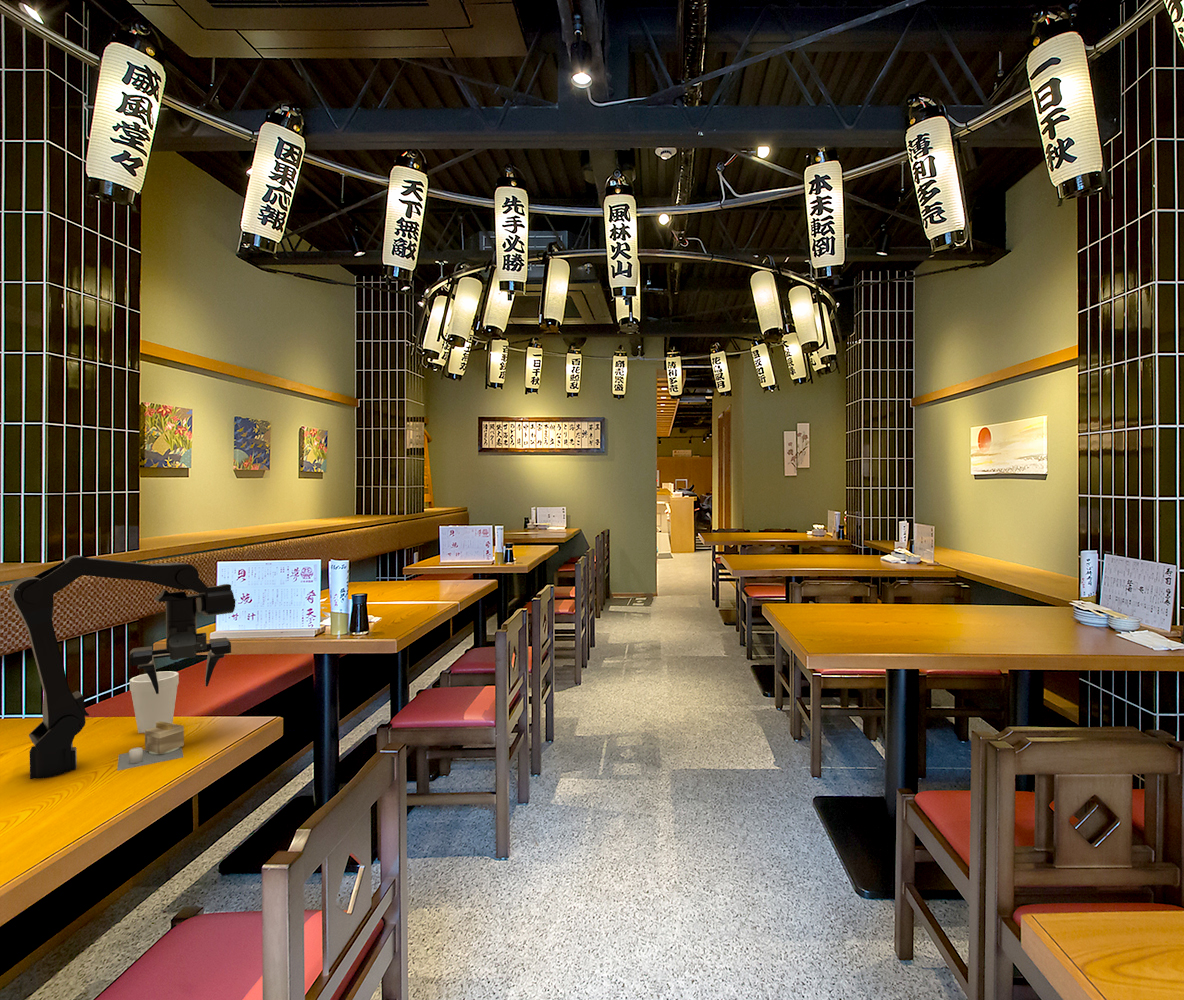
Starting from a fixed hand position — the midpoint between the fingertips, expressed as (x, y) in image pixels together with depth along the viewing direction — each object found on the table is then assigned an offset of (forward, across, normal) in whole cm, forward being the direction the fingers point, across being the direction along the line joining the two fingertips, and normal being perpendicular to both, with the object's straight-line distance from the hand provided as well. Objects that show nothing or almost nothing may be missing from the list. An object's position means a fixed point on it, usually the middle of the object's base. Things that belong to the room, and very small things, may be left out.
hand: (182, 689), depth 143 cm
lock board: (+12, -6, -7) cm, 15 cm away
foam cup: (+12, -5, +13) cm, 19 cm away
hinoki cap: (+11, -4, -5) cm, 12 cm away
